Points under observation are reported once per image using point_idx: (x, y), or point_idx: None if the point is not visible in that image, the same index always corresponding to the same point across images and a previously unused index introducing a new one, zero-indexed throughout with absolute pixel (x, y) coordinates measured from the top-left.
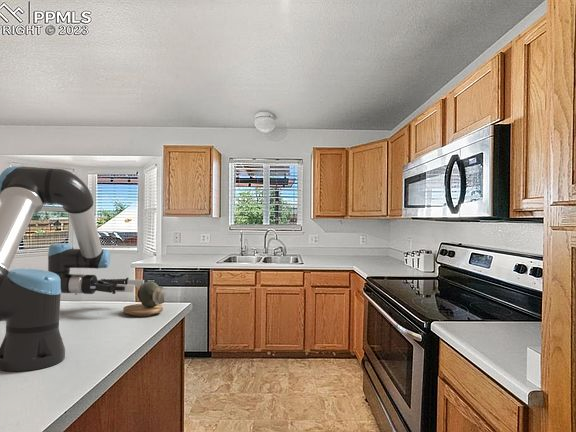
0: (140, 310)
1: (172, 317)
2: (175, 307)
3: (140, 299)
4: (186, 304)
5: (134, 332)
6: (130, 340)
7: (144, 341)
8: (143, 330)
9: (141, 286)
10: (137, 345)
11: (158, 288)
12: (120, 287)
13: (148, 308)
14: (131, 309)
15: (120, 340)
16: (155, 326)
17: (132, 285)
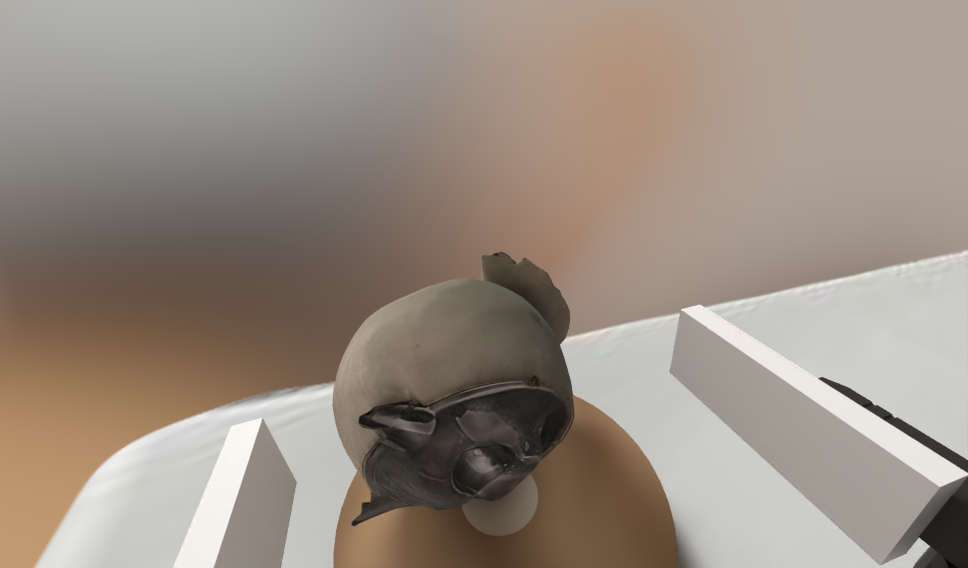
0: (605, 451)
1: None
2: None
3: (569, 427)
4: (172, 429)
5: (838, 340)
6: (907, 303)
7: (855, 278)
8: (781, 332)
9: (529, 352)
10: (901, 273)
11: (518, 266)
12: (880, 414)
13: None
14: (623, 538)
15: (956, 322)
16: None
17: (713, 316)
